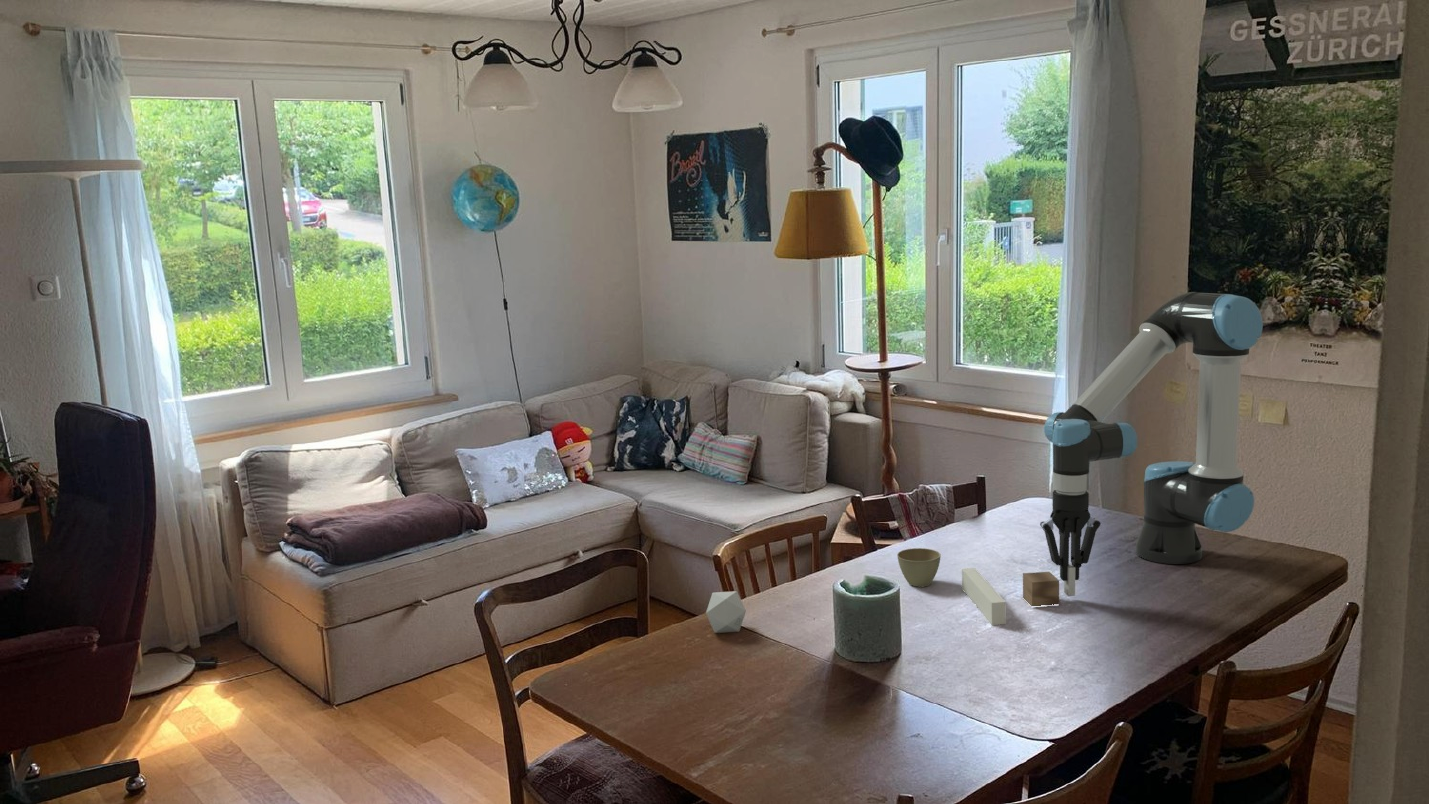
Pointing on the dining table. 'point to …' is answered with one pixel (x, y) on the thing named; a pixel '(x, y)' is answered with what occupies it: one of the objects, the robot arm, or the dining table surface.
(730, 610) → the die
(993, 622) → the board
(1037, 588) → the block
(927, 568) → the flower pot
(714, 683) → the dining table surface
